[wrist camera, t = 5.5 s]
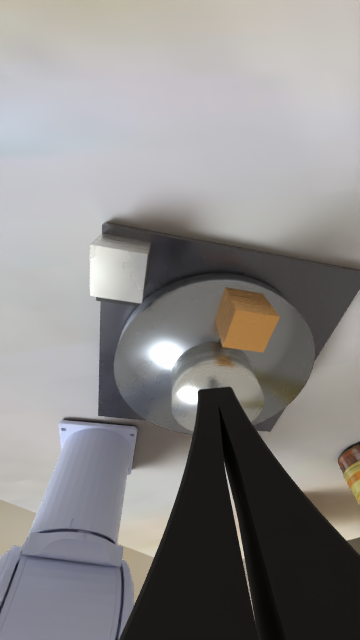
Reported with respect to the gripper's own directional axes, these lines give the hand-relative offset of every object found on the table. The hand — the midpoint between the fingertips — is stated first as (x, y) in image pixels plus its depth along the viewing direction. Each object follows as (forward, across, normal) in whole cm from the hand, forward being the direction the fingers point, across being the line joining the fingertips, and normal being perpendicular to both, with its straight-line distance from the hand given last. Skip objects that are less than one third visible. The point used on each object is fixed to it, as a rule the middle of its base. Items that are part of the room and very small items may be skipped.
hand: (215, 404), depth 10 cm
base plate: (+10, -1, +5) cm, 11 cm away
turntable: (+8, -1, +5) cm, 10 cm away
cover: (+7, 0, +5) cm, 8 cm away
